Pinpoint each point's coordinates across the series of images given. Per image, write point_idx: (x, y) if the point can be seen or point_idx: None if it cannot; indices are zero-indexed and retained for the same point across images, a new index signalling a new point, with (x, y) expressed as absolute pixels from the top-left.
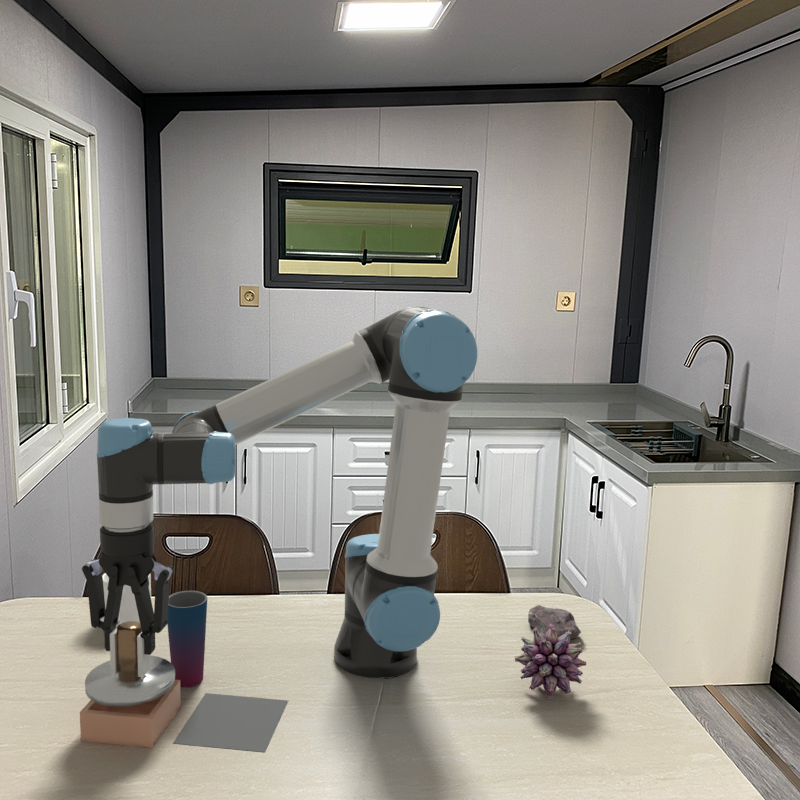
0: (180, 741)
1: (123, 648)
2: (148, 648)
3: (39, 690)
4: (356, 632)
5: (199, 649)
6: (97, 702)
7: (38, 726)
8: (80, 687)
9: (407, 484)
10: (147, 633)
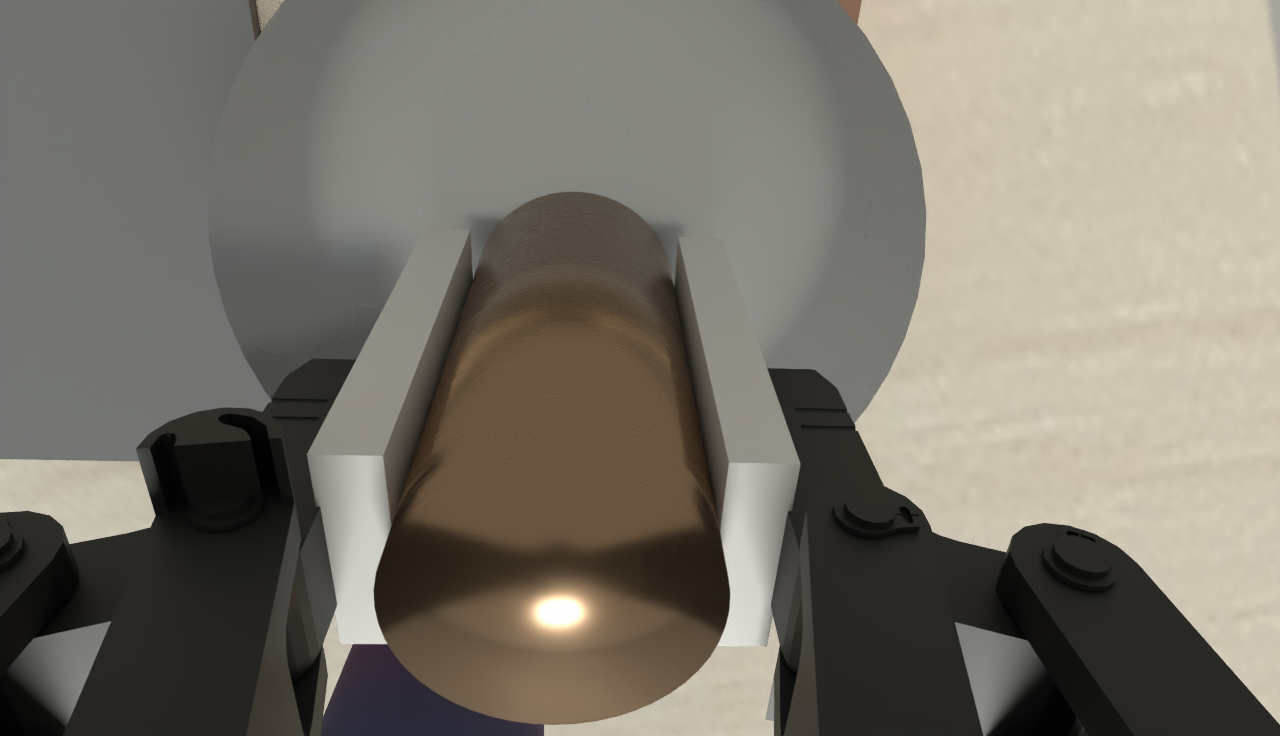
0: (209, 11)
1: (580, 334)
2: (310, 395)
3: (1162, 400)
4: None
5: (339, 677)
6: None
7: (1099, 94)
8: (968, 444)
9: None
10: (192, 492)
